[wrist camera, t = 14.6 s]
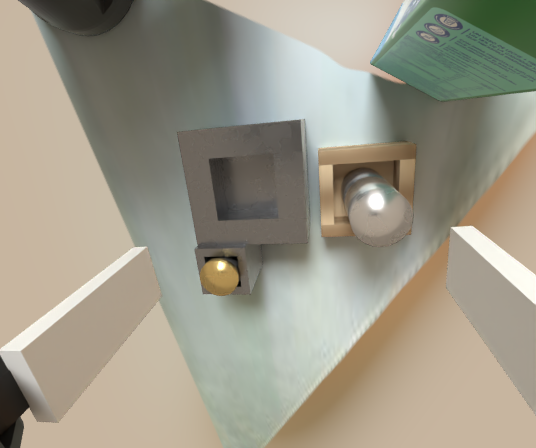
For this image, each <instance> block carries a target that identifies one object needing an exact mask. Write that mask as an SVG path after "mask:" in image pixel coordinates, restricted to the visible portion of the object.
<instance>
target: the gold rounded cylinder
mask: <svg viewBox="0 0 536 448" xmlns="http://www.w3.org/2000/svg"><path fill="white" fill-rule="evenodd" d="M238 270H239V266H238V259H237V256H220V257H218V258H214V259H211V260H209V261H208V262H207V263H206V264H205V265H204V266H203V268H202V269H201V272H200V280H201V283H202V285H203V286H204V288H205V289H206V290H207V291H209V292H210V293H212V294H214V295H218V296H225V295H229V294H231V293H232V292H233V291H234V290H235V289H236V287H237V285H238V282H239V272H238Z"/></svg>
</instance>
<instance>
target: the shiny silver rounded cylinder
mask: <svg viewBox="0 0 536 448" xmlns="http://www.w3.org/2000/svg"><path fill="white" fill-rule="evenodd" d="M341 194H342V198H343V201H344V204H345V208H346V211H347V214H348V218H349V221H350V224H351V228H352V230H353V232H354V234H355V235H356V237H357V238H358V239H359V240H361V241H362V242H364V243H365V244H368V245H371V246H376V247H383V246H389V245H392V244H394V243H396V242H398V241H400V240H401V239H402V238H403V237H404V236H405V235H406V234H407V233H408V232H409V230H410V228H411V226H412V222H413V211H412V207H411V205H410V203H409V202H408V200H407V199H406V198H405V197H404V196H403V195H401V194H400V193H399V192H398V191H397V190H396V189H395V188H394V187H393V186H392V185H391V184H390V183H388V182H387V181H386V180H385V179H384V178H383V177H382V176H381V175H380V174H379V173H378V172H376V171H375V170H373V169H371V168H366V167H361V168H356V169H354V170H352V171H350V172H349V173H348V174H347V175H346V176H345V177H344V179H343V181H342V184H341Z"/></svg>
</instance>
